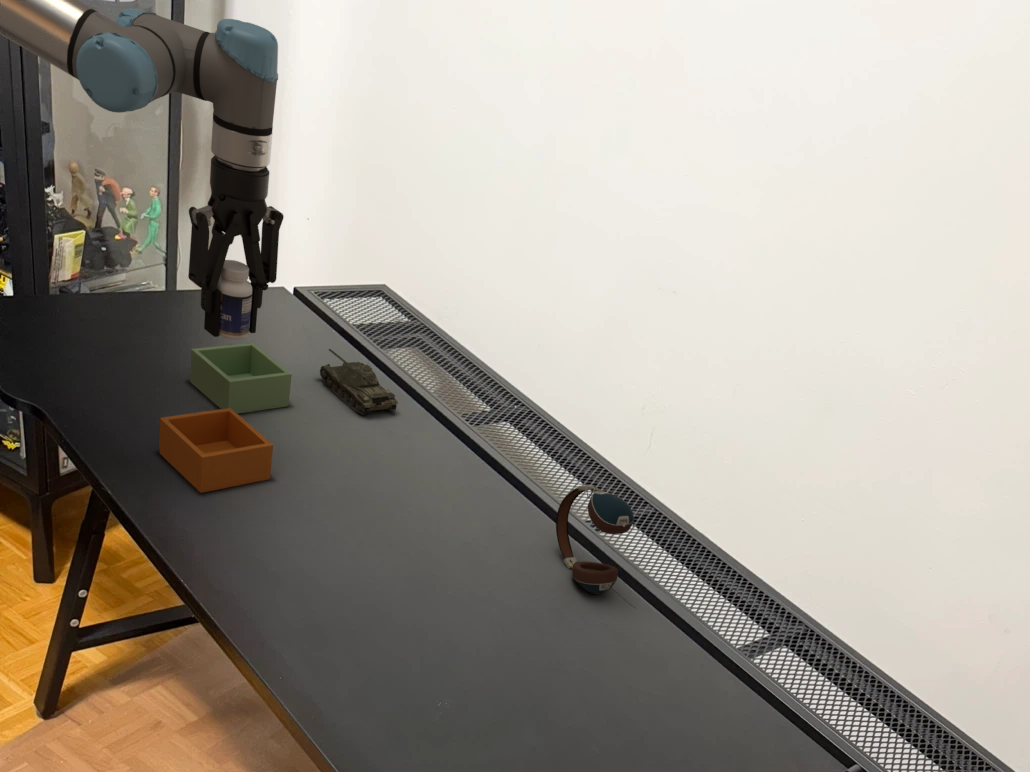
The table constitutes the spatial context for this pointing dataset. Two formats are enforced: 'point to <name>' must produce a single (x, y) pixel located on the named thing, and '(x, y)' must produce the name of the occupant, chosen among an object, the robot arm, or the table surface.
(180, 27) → the robot arm
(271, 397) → the green bin
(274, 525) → the table surface
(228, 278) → the pill bottle
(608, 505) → the headphones
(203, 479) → the amber bin
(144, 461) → the table surface
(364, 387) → the toy tank
